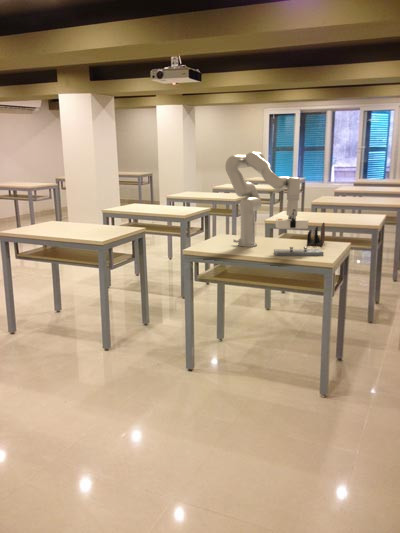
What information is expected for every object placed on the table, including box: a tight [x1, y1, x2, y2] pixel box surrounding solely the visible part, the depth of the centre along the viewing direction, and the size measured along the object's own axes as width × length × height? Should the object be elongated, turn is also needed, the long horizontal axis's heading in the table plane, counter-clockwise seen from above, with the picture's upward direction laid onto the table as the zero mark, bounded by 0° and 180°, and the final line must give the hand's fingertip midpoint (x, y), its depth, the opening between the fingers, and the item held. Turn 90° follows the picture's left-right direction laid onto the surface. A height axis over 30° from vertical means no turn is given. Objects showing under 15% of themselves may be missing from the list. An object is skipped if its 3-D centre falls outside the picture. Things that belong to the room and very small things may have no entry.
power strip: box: [275, 218, 309, 230], centre depth 303 cm, size 19×6×6 cm, turn 92°
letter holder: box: [306, 222, 326, 247], centre depth 328 cm, size 10×20×14 cm, turn 162°
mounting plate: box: [273, 246, 325, 257], centre depth 296 cm, size 28×10×4 cm, turn 92°
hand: (291, 226), depth 304 cm, fingers closed on power strip, 6 cm apart
